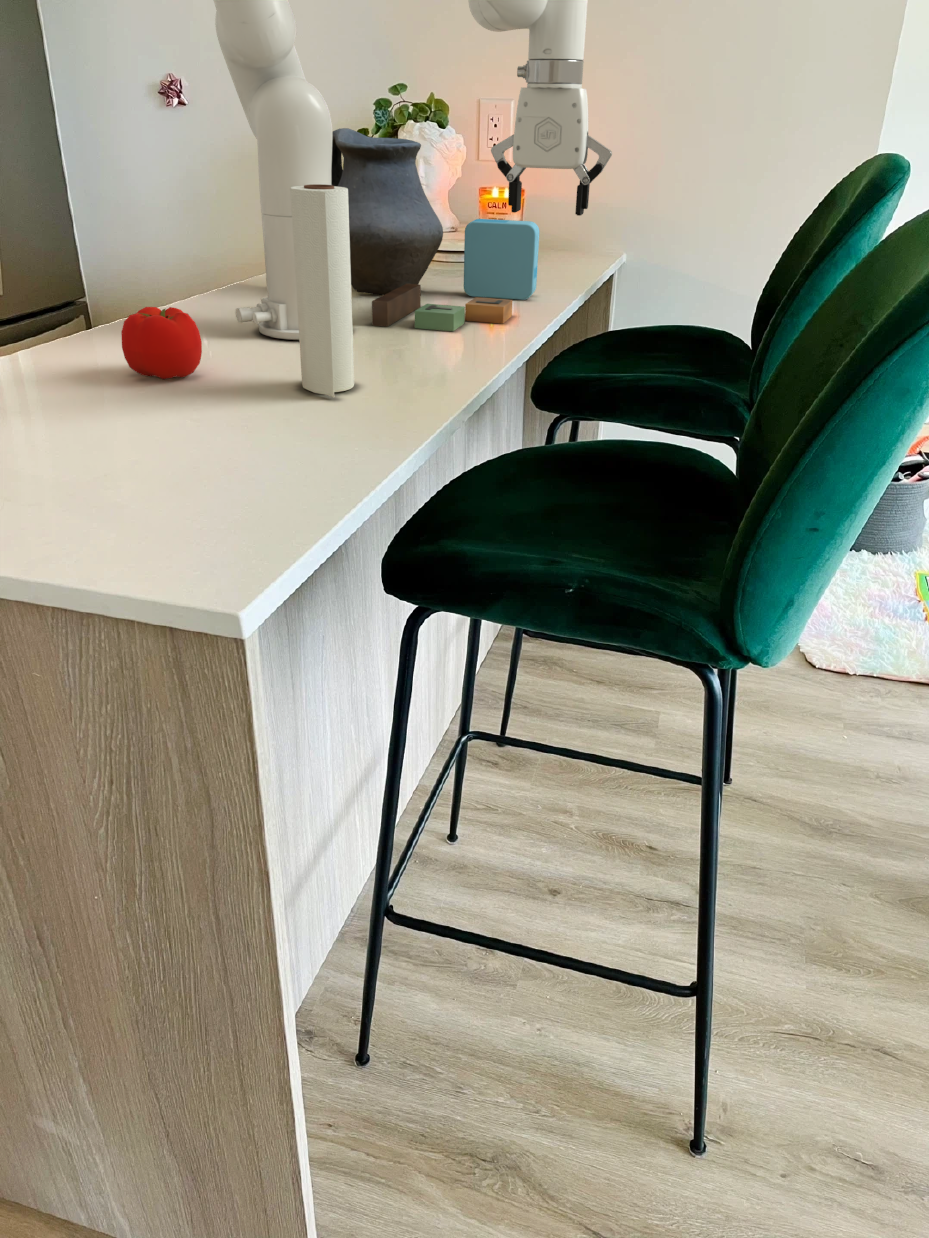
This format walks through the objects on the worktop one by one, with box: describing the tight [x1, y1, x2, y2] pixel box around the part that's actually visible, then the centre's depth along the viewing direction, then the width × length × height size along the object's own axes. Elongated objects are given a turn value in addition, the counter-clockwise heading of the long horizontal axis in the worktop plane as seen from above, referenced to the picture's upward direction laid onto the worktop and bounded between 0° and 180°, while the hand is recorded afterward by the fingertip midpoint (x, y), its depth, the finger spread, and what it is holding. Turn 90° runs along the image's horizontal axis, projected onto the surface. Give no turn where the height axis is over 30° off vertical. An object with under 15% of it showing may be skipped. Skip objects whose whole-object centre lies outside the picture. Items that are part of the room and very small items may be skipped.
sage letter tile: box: [414, 303, 465, 332], centre depth 140 cm, size 6×6×3 cm
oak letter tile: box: [464, 297, 514, 324], centre depth 146 cm, size 6×6×3 cm
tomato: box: [121, 306, 203, 380], centre depth 111 cm, size 9×9×8 cm
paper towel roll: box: [290, 184, 355, 398], centre depth 104 cm, size 7×6×21 cm
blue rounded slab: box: [463, 218, 540, 301], centre depth 160 cm, size 12×4×12 cm, turn 78°
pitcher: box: [331, 127, 444, 296], centre depth 159 cm, size 21×22×25 cm
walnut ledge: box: [371, 283, 422, 327], centre depth 146 cm, size 16×2×4 cm, turn 165°
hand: (547, 213), depth 137 cm, fingers open, 9 cm apart
